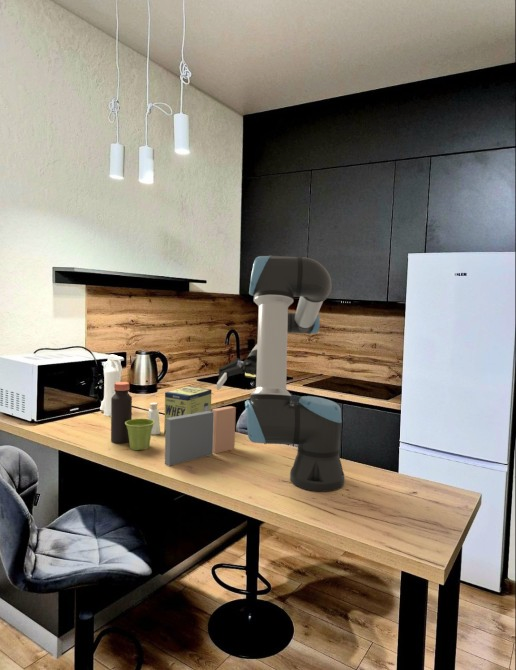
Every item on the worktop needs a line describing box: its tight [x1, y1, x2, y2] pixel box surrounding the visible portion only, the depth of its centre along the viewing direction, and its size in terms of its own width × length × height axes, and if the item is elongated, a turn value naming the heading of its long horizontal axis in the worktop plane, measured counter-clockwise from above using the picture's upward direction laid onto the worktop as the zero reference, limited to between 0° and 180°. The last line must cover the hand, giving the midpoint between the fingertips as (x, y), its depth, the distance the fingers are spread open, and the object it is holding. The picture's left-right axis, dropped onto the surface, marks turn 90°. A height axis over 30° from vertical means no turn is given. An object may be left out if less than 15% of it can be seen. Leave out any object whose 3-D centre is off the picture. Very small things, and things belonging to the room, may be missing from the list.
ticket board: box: [164, 410, 214, 467], centre depth 148 cm, size 16×3×14 cm, turn 133°
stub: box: [211, 405, 237, 454], centre depth 157 cm, size 8×2×14 cm, turn 133°
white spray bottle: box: [99, 354, 125, 417], centre depth 198 cm, size 7×12×25 cm, turn 56°
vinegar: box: [110, 381, 133, 444], centre depth 164 cm, size 7×7×20 cm
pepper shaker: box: [147, 402, 161, 436], centre depth 175 cm, size 5×5×11 cm
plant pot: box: [125, 418, 154, 451], centre depth 158 cm, size 9×9×9 cm
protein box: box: [163, 385, 212, 434], centre depth 178 cm, size 10×16×16 cm
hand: (236, 392), depth 160 cm, fingers open, 13 cm apart
